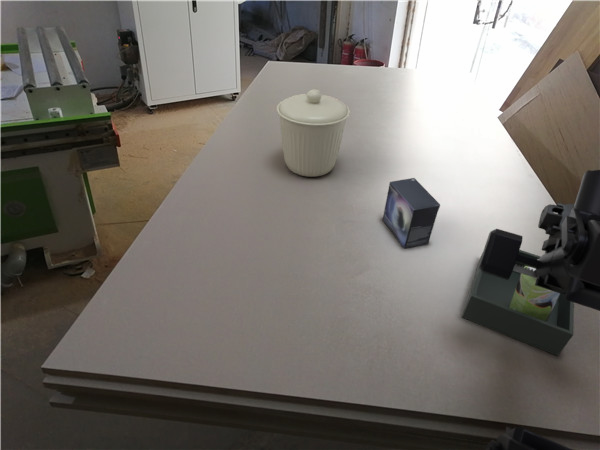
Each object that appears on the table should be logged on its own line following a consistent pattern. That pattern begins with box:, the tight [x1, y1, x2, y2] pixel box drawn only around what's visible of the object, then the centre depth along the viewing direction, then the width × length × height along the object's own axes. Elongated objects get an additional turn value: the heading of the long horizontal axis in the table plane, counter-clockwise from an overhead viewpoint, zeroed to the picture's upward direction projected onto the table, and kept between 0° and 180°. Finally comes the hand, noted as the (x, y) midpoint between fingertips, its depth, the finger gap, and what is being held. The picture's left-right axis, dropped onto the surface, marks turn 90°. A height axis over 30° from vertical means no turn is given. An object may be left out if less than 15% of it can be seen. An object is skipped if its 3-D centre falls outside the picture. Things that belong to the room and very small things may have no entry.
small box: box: [382, 177, 441, 249], centre depth 86 cm, size 11×6×10 cm, turn 17°
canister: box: [276, 89, 351, 178], centre depth 103 cm, size 18×18×21 cm
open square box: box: [461, 249, 575, 357], centre depth 72 cm, size 17×15×6 cm
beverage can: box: [509, 259, 560, 322], centre depth 67 cm, size 6×7×12 cm
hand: (540, 275), depth 61 cm, fingers open, 9 cm apart
